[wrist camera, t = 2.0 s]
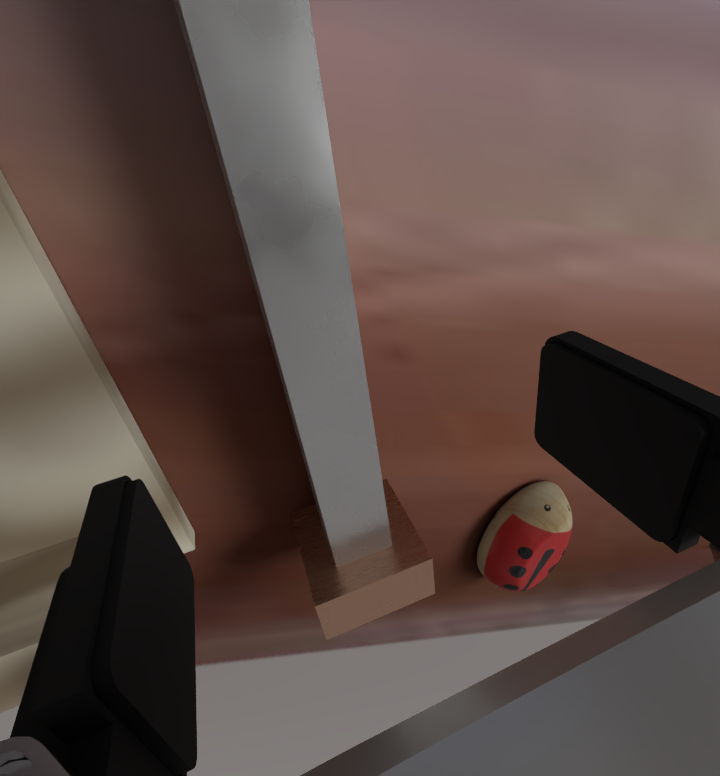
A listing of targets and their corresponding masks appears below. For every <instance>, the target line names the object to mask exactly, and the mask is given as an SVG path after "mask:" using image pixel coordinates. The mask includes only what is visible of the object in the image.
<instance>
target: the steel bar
mask: <svg viewBox="0 0 720 776" xmlns="http://www.w3.org/2000/svg"><path fill="white" fill-rule="evenodd" d="M173 1H174V5H175V8H176V12H177V15H178V19H179V22H180V26H181V29H182V33H183V36H184V40H185V43H186V47H187V50H188V54H189V57H190V61H191V65H192V68H193V72H194V75H195V79H196V82H197V86H198V89H199V93H200V96H201V100H202V103H203V107H204V110H205V114H206V117H207V121H208V125H209V128H210V132H211V135H212V139H213V142H214V146H215V149H216V153H217V156H218V160H219V163H220V167H221V170H222V174H223V177H224V181H225V185H226V188H227V192H228V195H229V199H230V202H231V206H232V209H233V213H234V216H235V220H236V223H237V227H238V230H239V234H240V237H241V241H242V245H243V248H244V252H245V255H246V259H247V262H248V266H249V269H250V273H251V276H252V280H253V283H254V287H255V290H256V294H257V297H258V301H259V305H260V308H261V312H262V315H263V319H264V322H265V326H266V329H267V333H268V336H269V340H270V343H271V347H272V350H273V354H274V357H275V361H276V364H277V368H278V372H279V375H280V379H281V382H282V386H283V389H284V393H285V396H286V400H287V403H288V407H289V410H290V414H291V417H292V421H293V424H294V428H295V432H296V435H297V439H298V442H299V446H300V449H301V453H302V456H303V460H304V463H305V467H306V470H307V474H308V477H309V481H310V484H311V488H312V492H313V495H314V499H315V502H316V504H315V505H313V506H310V507H307V508H304V509H302V510H299V511H296V512H293V513H290V515H291V519H292V522H293V526H294V530H295V534H296V537H297V541H298V545H299V549H300V552H301V556H302V560H303V564H304V567H305V571H306V575H307V579H308V582H309V586H310V590H311V593H312V597H313V601H314V605H315V608H316V611H317V614H318V617H319V619H320V622H321V625H322V628H323V631H324V634H325V636H326V639H327V640H328V639H330V638H332V637H335V636H337V635H339V634H342V633H344V632H346V631H349V630H351V629H353V628H356V627H358V626H360V625H363V624H365V623H367V622H370V621H372V620H374V619H377V618H379V617H381V616H384V615H386V614H388V613H391V612H393V611H395V610H398V609H400V608H402V607H405V606H407V605H409V604H412V603H414V602H416V601H419V600H421V599H423V598H426V597H428V596H430V595H433V594H435V587H434V573H433V560H432V557H431V555H430V554H429V552H428V550H427V548H426V547H425V545H424V543H423V541H422V540H421V538H420V536H419V534H418V533H417V531H416V529H415V528H414V526H413V524H412V522H411V521H410V519H409V517H408V515H407V514H406V512H405V510H404V508H403V507H402V505H401V503H400V501H399V500H398V498H397V496H396V495H395V493H394V491H393V489H392V488H391V486H390V484H389V482H388V481H387V479H385V480H382V475H381V469H380V462H379V456H378V449H377V443H376V436H375V430H374V423H373V417H372V410H371V404H370V397H369V391H368V384H367V378H366V371H365V365H364V358H363V352H362V345H361V339H360V332H359V326H358V319H357V313H356V306H355V300H354V293H353V287H352V280H351V274H350V267H349V261H348V254H347V248H346V241H345V235H344V228H343V222H342V215H341V209H340V202H339V196H338V189H337V183H336V176H335V170H334V163H333V157H332V150H331V144H330V137H329V131H328V124H327V118H326V111H325V105H324V98H323V92H322V85H321V79H320V72H319V66H318V59H317V53H316V46H315V40H314V33H313V27H312V20H311V14H310V7H309V1H308V0H173Z"/></svg>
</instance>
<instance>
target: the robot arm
mask: <svg viewBox="0 0 720 776" xmlns="http://www.w3.org/2000/svg"><path fill="white" fill-rule="evenodd" d="M535 438H536V441H537V443H538V444H539V445H540V446H541V447H542V448H543V449H544V450H545V451H546V452H548V453H549V454H550V455H551V456H553V457H554V458H555V459H556V460H557V461H559V462H560V463H561V464H562V465H564V466H565V467H566V468H567V469H568V470H570V471H571V472H572V473H573V474H574V475H576V476H577V477H578V478H579V479H581V480H582V481H583V482H584V483H585V484H587V485H588V486H589V487H590V488H592V489H593V490H594V491H595V492H596V493H598V494H599V495H600V496H601V497H602V498H604V499H605V500H606V501H607V502H609V503H610V504H611V505H612V506H613V507H615V508H616V509H617V510H618V511H620V512H621V513H622V514H623V515H624V516H626V517H627V518H628V519H629V520H630V521H632V522H633V523H634V524H635V525H637V526H638V527H639V528H640V529H641V530H643V531H644V532H645V533H646V534H648V535H649V536H650V537H651V538H653V539H654V540H656V541H659V542H663V543H665V544H666V545H667V546H668V547H670V548H671V549H672V550H673V551H674V552H676V553H677V554H678V553H680V552H682V551H684V550H686V549H688V548H690V547H692V546H694V545H696V544H697V542H698V540H699V537H700V535H701V536H702V537H704V538H705V539H706V540H708V541H709V546H710V549H711V552H712V554H713V557H714V560H715V562H713V563H711V564H709V565H707V566H705V567H703V568H701V569H699V570H697V571H695V572H693V573H691V574H689V575H688V576H686V577H684V578H682V579H680V580H678V581H676V582H674V583H672V584H670V585H668V586H666V587H664V588H662V589H660V590H658V591H656V592H654V593H652V594H650V595H648V596H646V597H644V598H642V599H640V600H638V601H636V602H634V603H632V604H630V605H628V606H626V607H624V608H622V609H620V610H619V611H617V612H615V613H613V614H611V615H609V616H607V617H605V618H603V619H601V620H599V621H597V622H595V623H593V624H591V625H589V626H587V627H585V628H583V629H581V630H579V631H578V632H575V633H574V634H572V635H570V636H568V637H566V638H564V639H562V640H560V641H558V642H556V643H554V644H552V645H550V646H548V647H546V648H544V649H542V650H540V651H539V652H536V653H534V654H533V655H531V656H529V657H527V658H525V659H523V660H521V661H519V662H517V663H515V664H513V665H511V666H509V667H507V668H505V669H503V670H502V671H500V672H497V673H496V674H494V675H492V676H490V677H488V678H486V679H484V680H482V681H480V682H478V683H476V684H475V685H472V686H470V687H469V688H467V689H465V690H463V691H461V692H459V693H457V694H455V695H453V696H451V697H449V698H447V699H445V700H443V701H442V702H440V703H438V704H436V705H434V706H432V707H430V708H428V709H426V710H424V711H422V712H420V713H419V714H416V715H415V716H413V717H411V718H409V719H407V720H405V721H403V722H401V723H399V724H397V725H395V726H394V727H391V728H389V729H387V730H386V731H384V732H382V733H380V734H378V735H376V736H374V737H372V738H370V739H368V740H366V741H364V742H363V743H360V744H359V745H357V746H355V747H353V748H351V749H349V750H347V751H345V752H343V753H342V754H339V755H338V756H336V757H334V758H332V759H330V760H328V761H327V762H325V763H323V764H321V765H319V766H317V767H315V768H314V769H312V770H310V771H308V772H306V773H305V774H303V775H301V776H720V397H719V396H717V395H715V394H713V393H710V392H708V391H706V390H704V389H701V388H699V387H697V386H695V385H693V384H690V383H688V382H686V381H684V380H682V379H679V378H677V377H675V376H673V375H671V374H668V373H666V372H664V371H662V370H659V369H657V368H655V367H653V366H651V365H648V364H646V363H644V362H642V361H640V360H637V359H635V358H633V357H631V356H628V355H626V354H624V353H622V352H620V351H617V350H615V349H613V348H611V347H609V346H606V345H604V344H602V343H600V342H597V341H595V340H593V339H591V338H589V337H586V336H584V335H582V334H580V333H578V332H574V331H569V332H566V333H563V334H559V335H556V336H553V337H550V338H549V339H548V340H547V341H546V343H545V346H544V347H543V348H542V350H541V358H540V370H539V383H538V395H537V408H536V420H535ZM196 728H197V726H196V671H195V617H194V578H193V573H192V569H191V567H190V564H189V562H188V561H187V559H186V557H185V555H184V553H183V552H182V550H181V548H180V546H179V545H178V543H177V541H176V539H175V537H174V536H173V534H172V532H171V530H170V529H169V527H168V525H167V523H166V521H165V520H164V518H163V516H162V514H161V512H160V511H159V509H158V507H157V505H156V504H155V502H154V500H153V498H152V496H151V495H150V493H149V491H148V489H147V488H146V486H145V484H144V482H143V481H142V480H141V479H136V480H133V481H132V480H131V478H130V477H128V476H126V475H125V476H122V477H119V478H116V479H112V480H109V481H106V482H103V483H100V484H97V485H95V486H93V488H92V491H91V494H90V498H89V501H88V505H87V508H86V512H85V515H84V519H83V522H82V526H81V530H80V533H79V537H78V540H77V544H76V547H75V551H74V554H73V558H72V561H71V565H70V567H68V568H66V569H65V570H64V571H63V572H62V573H61V574H60V577H59V579H58V581H57V584H56V587H55V591H54V594H53V597H52V601H51V604H50V607H49V611H48V614H47V617H46V620H45V624H44V627H43V630H42V634H41V637H40V640H39V644H38V647H37V650H36V653H35V657H34V660H33V663H32V667H31V670H30V673H29V677H28V680H27V683H26V687H25V690H24V693H23V696H22V700H21V703H20V706H19V710H18V713H17V716H16V720H15V723H14V726H13V730H12V733H11V736H10V738H9V739H7V740H3V741H1V742H0V776H187V772H188V771H190V770H192V769H194V768H195V765H196V760H197V729H196Z"/></svg>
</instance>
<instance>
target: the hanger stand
mask: <svg viewBox="0 0 720 776" xmlns="http://www.w3.org/2000/svg"><path fill="white" fill-rule="evenodd" d="M125 475H126V476H128V477H130V478H131V480H132V481H133V480H136V479H141V480H142V481H143V482H144V484H145V486H146V488H147V489H148V491H149V493H150V495H151V496H152V498H153V500H154V502H155V504H156V505H157V507H158V509H159V511H160V512H161V514H162V516H163V518H164V520H165V521H166V523H167V525H168V527H169V529H170V530H171V532H172V534H173V536H174V537H175V539H176V541H177V543H178V545H179V546H180V548H181V550H182V552H183V553H186V552H189V551H192V550H195V532H194V530H193V528H192V526H191V524H190V522H189V520H188V519H187V517H186V515H185V513H184V511H183V509H182V507H181V505H180V504H179V502H178V500H177V498H176V496H175V494H174V492H173V491H172V489H171V487H170V485H169V483H168V481H167V479H166V477H165V476H164V474H163V472H162V470H161V468H160V466H159V464H158V463H157V461H156V459H155V457H154V455H153V453H152V451H151V450H150V448H149V446H148V444H147V442H146V440H145V438H144V436H143V435H142V433H141V431H140V429H139V427H138V425H137V423H136V422H135V420H134V418H133V416H132V414H131V412H130V410H129V408H128V407H127V405H126V403H125V401H124V399H123V397H122V395H121V394H120V392H119V390H118V388H117V386H116V384H115V382H114V381H113V379H112V377H111V375H110V373H109V371H108V369H107V367H106V366H105V364H104V362H103V360H102V358H101V356H100V354H99V353H98V351H97V349H96V347H95V345H94V343H93V341H92V339H91V338H90V336H89V334H88V332H87V330H86V328H85V326H84V325H83V323H82V321H81V319H80V317H79V315H78V313H77V312H76V310H75V308H74V306H73V304H72V302H71V300H70V298H69V297H68V295H67V293H66V291H65V289H64V287H63V285H62V284H61V282H60V280H59V278H58V276H57V274H56V272H55V270H54V269H53V267H52V265H51V263H50V261H49V259H48V257H47V256H46V254H45V252H44V250H43V248H42V246H41V244H40V243H39V241H38V239H37V237H36V235H35V233H34V231H33V229H32V228H31V226H30V224H29V222H28V220H27V218H26V216H25V215H24V213H23V211H22V209H21V207H20V205H19V203H18V201H17V200H16V198H15V196H14V194H13V192H12V190H11V188H10V187H9V185H8V183H7V181H6V179H5V177H4V175H3V173H2V172H1V170H0V713H1V712H4V711H6V710H9V709H11V708H14V707H16V706H19V705H20V703H21V700H22V696H23V693H24V690H25V687H26V683H27V680H28V677H29V673H30V670H31V667H32V663H33V660H34V657H35V653H36V650H37V647H38V644H39V640H40V637H41V634H42V630H43V627H44V624H45V620H46V617H47V614H48V611H49V607H50V604H51V601H52V597H53V594H54V591H55V587H56V584H57V581H58V579H59V577H60V574H61V573H62V572H63V571H64V570H65V569H66V568H68V567H70V565H71V561H72V558H73V554H74V551H75V547H76V544H77V540H78V537H79V533H80V530H81V526H82V522H83V519H84V515H85V512H86V508H87V505H88V501H89V498H90V494H91V491H92V488H93V486H95V485H97V484H100V483H103V482H106V481H109V480H112V479H116V478H119V477H122V476H125Z"/></svg>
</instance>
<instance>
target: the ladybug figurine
mask: <svg viewBox="0 0 720 776" xmlns="http://www.w3.org/2000/svg"><path fill="white" fill-rule="evenodd" d="M571 531H572V513H571V509H570V506H569V503H568V501H567V499H566V497H565V495H564V493H563V492H562V490H561V489H560V488H559V487H558V486H557V485H556V484H555V483H552V482H549V481H541V482H536V483H533V484H530V485H528V486H526V487H524V488H522V489H521V490H519V491H518V492H517V493H515V494H514V495H513V496H512V497H511V498H510V499H508V500H507V501H506V502H505V503H504V504H503V506H502V507H501V508H500V509H499V510H498V511H497V513H496V514H495V515H494V517H493V518H492V520H491V521H490V523H489V525H488V527H487V528H486V530H485V532H484V534H483V536H482V538H481V541H480V544H479V547H478V552H477V565H478V568H479V570H480V572H481V573H482V575H483V576H484V577H485V578H487V579H488V580H489V581H490V582H492V583H493V584H494V585H495V586H496V587H501V588H503V589H506V590H510V591H518V592H520V591H525V590H528V589H530V588H532V587H534V586H536V585H537V584H538V583H539V582H540V581H542V580H543V579H544V578H545V577H546V576H547V575H548V573H550V571H551V570H552V569H553V568H554V567H555V566H556V565H557V563H558V561H559V559H560V558H561V556H562V555H563V554H564V552H565V549H566V547H567V545H568V541H569V538H570V535H571Z"/></svg>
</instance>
